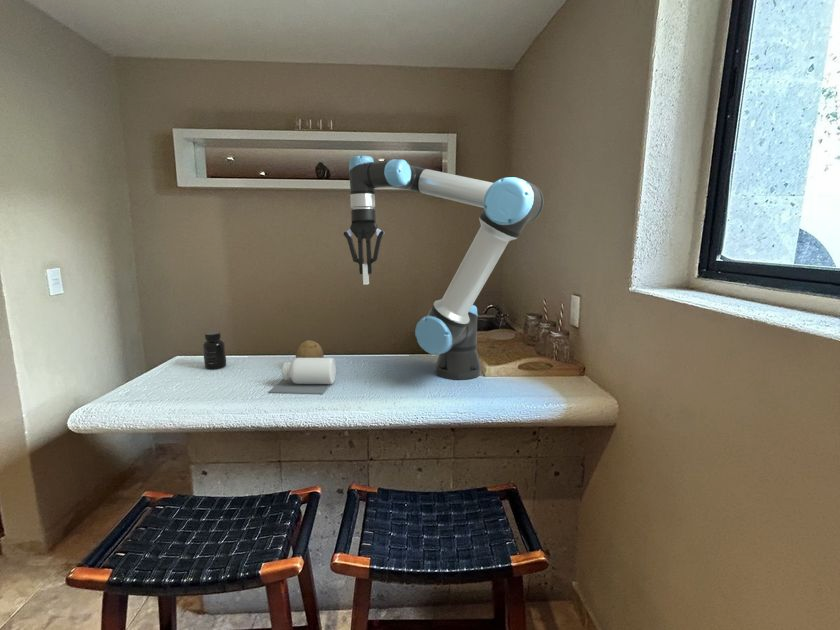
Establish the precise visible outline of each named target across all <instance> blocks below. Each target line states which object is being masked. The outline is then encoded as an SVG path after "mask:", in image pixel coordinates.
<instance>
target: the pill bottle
mask: <svg viewBox="0 0 840 630" xmlns="http://www.w3.org/2000/svg"><path fill="white" fill-rule="evenodd" d="M336 369H337V367H336V361H335V358H332V357H324V358H296V357H295V358H294V359H293V361H285V362H284V363H283V364H282V367H281V377H282V379H284V380H289V379H290V380H291V379H292V381H293V382H294V383H296V384H330V385H332V384H334V383H335V379H336V374H337V373H336V371H337V370H336Z"/></svg>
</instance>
